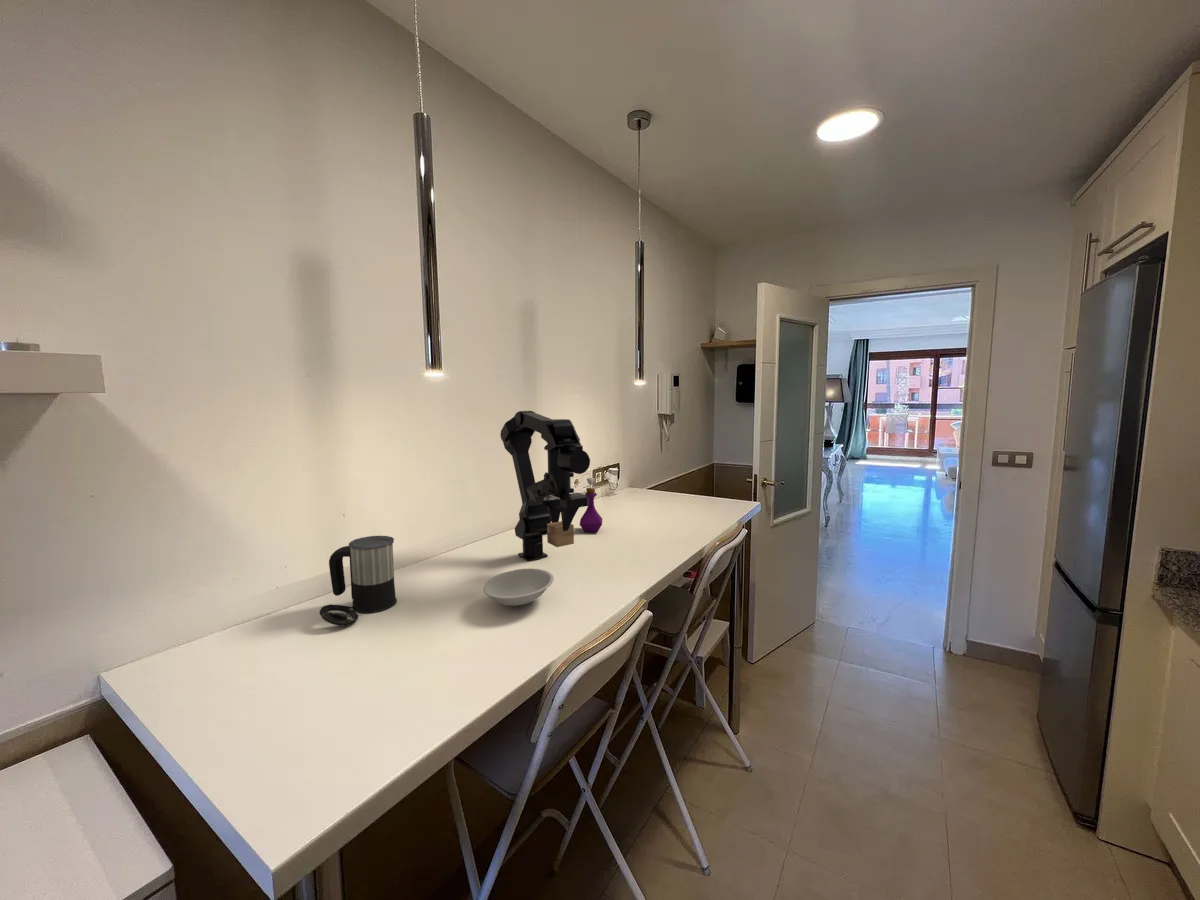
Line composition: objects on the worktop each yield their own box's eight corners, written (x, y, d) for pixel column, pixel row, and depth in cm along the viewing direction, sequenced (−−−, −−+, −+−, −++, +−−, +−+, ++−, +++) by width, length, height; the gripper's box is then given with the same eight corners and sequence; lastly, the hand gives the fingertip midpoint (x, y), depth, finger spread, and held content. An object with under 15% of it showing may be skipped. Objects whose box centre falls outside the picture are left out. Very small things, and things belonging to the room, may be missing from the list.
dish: (515, 584, 124) (515, 564, 124) (566, 594, 118) (566, 573, 117) (468, 613, 108) (467, 591, 108) (524, 626, 102) (523, 602, 102)
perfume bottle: (602, 533, 167) (601, 480, 164) (579, 534, 167) (578, 480, 165) (602, 527, 174) (602, 476, 172) (580, 527, 174) (580, 476, 172)
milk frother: (399, 594, 119) (395, 533, 117) (393, 624, 104) (389, 554, 102) (332, 602, 115) (327, 539, 113) (316, 634, 100) (310, 562, 98)
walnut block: (547, 542, 131) (547, 523, 131) (564, 539, 134) (563, 520, 134) (556, 547, 127) (556, 528, 127) (573, 543, 130) (573, 524, 129)
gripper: (514, 467, 132) (516, 525, 133) (548, 477, 116) (550, 542, 118) (551, 463, 138) (553, 519, 140) (589, 472, 122) (590, 534, 124)
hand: (560, 528), depth 130 cm, fingers closed on walnut block, 5 cm apart
